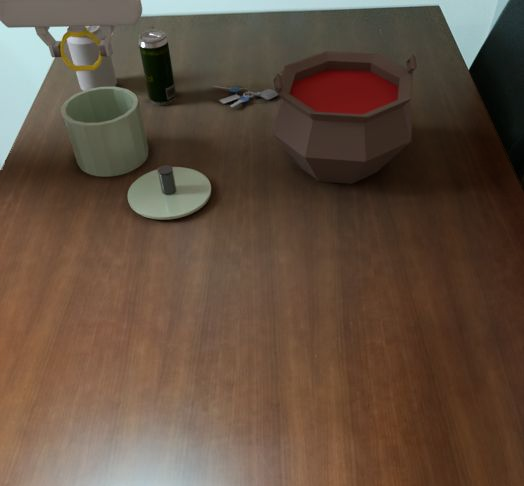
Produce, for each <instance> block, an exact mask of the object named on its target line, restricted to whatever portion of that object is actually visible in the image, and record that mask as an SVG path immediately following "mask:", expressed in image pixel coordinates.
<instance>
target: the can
mask: <svg viewBox="0 0 524 486" xmlns="http://www.w3.org/2000/svg"><path fill="white" fill-rule="evenodd" d="M85 27H86V28H87V30H88V31H90V32H92V33H93V34H94V35H95V36H96V37H97V38H98V40H99V41H101V40H105V38H106V34H107V33H102V29H101V26H85ZM66 42H67V46H68V49H69V50H68V51H69V54H70V56H71V60H72V63H73V64H75V65H76V66H82V65H94V63H95V62H96V61H97V60H98V58H99V54H100V52H99V48H98V46H97V44H96V43H95V42H94V41H93V39H91V38H89V37H88V36H86V35H85V36H82V37H71V36H70V37H69V38H68V39H66ZM75 74H76V78H77V81H78V84H79V88H80V90H81V91H84V90H87V89H92V88H97V87H116V86H117V83H118V81H117V76H116V72H115V69H114V64H113V60H112V55H111V56H108V57H102V61H101V64H100V66H99V67H98V68H97V69H96V70H91V71H77V72H76V71H75Z"/></svg>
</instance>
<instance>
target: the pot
mask: <svg viewBox="0 0 524 486" xmlns="http://www.w3.org/2000/svg"><path fill="white" fill-rule="evenodd" d="M60 113H61V116H62V120H63V122H64V126H65V130H66V132H67V135H68V139H69V141H70V144H71V147H72V151H73V154H74V157H75V160H76V163H77V166H78V167H79V169H80V170H81V171H83V172H84V173H85V174H88V175H90V176H94V177H101V178H102V177H104V178H107V177H117V176H121V175H125V174H128V173H131V172H133V171H135V170H137V169H139V167H141V166H142V165H143V164H145V162H146V161H147V159H148V157H149V150H150V149H149V144H148V140H147V135H146V129H145V125H144V120H143V115H142V111H141V106H140V102H139V98H138V97H137V95H136V93H134V91H133V92H132V91H131V90H130V89H128V88H124V87H119V86H115V87H97V88H92V89H87V90H84V91H83V90H81V91H80V92H78V93H75V94H73V95H72V96H70V97H69V98H68V99H66V100H65V101H63V104H62V106H61V107H60Z"/></svg>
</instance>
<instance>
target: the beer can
mask: <svg viewBox="0 0 524 486" xmlns="http://www.w3.org/2000/svg"><path fill="white" fill-rule="evenodd" d="M169 45H170V44H169V40H168V37H167V35H166V33H165V32H164V31H162V30H157V29H155V30H147V31H144V32H141V33H140V34H139V35H138V49H139V53H140V58H141V64H142V68H143V73H144V78H145V84H146V89H147V94H148V99H149V100H150V102H151V103H152V104H153V105H155V106H167V105H170V104H172V103H174V101H175V100H176V97H177V91H176V85H175V80H174V72H173V66H172V65H173V64H172V59H171V52H170V46H169Z"/></svg>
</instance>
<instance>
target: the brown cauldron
mask: <svg viewBox="0 0 524 486" xmlns="http://www.w3.org/2000/svg"><path fill="white" fill-rule="evenodd" d="M417 64H418V63H417V59H416V56H415V55H414V54H412V55H410V57H409V58H408V59H407V61H405V65H406V67H404V66H402V65H401V64H399V63H397V62H394V61H392V60H390V59H388V58H387V57H385V56H383V55H382V54H379V53H375V52H374V53H373V52H358V51H357V52H355V51H354V52H353V51H332V50H325V51H322V52H319V53H316V54H314V55H311V56H308V57H305V58H302V59H299V60H296V61H294V62H292V63H289V64H286V65H284V67H283V69H282V73H281V74H280V73H276V75H274V78H273V85H274V91H276V92H277V93H278V96H279V97H280V98H281V99H280V102H279V104H278V106H277V107H278V108H277V110H276V114H275V116H274V119H273V122H272V126H271V128H270V134H271V135H272V136H273V137H274V138H275V139H276V141H277V142H278V143H279V144H280V145H281V147H282V148H283V149H284V150H285V152H287V154H288V155H289V156H290V157H291V158H292V160H293V161H294V163H296V165H297V166H298V167H299V168H300V169H302V170H303V171H305V173H307V174H309V175H310V176H311V177H312V178H314V179H315V180H317V181H318V182H324V183H336V184H349V185H350V184H351V185H352V184H355V183H357V182H359V181H361V180H363V179H365V178H368V177H370V176H372V175H374V174H376V173H378V172H379V171H380V170H381V169H382V168H384V166H386V165H387V164H388V163H389V162H390V161H392V159H393V158H394V157H396V155H398V154H399V153H400V152H401V151H402V150H404V148H405V147H407V146H408V145H409V144H410V143H411V142H412V131H413V130H412V127H413V107H412V105H411V100H412V99H413V98H412V96H413V81H414V80H413V77H414V75H413V74H414V71H416V70H417V68H418V65H417Z"/></svg>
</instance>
